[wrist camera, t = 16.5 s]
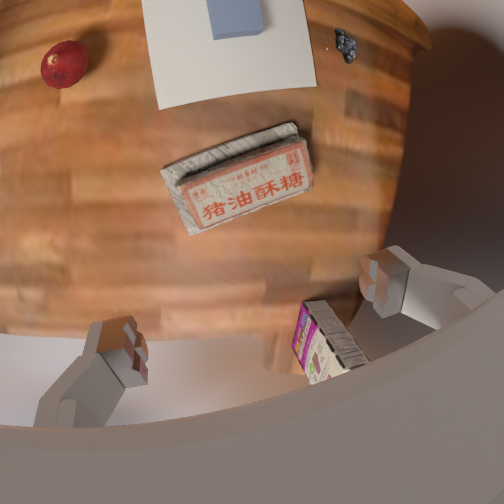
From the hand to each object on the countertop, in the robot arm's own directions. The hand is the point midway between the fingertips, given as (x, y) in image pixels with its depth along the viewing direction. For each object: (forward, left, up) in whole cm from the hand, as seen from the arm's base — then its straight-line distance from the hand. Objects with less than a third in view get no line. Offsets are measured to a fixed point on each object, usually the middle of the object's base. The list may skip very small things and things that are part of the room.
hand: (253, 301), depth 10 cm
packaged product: (+5, -4, -30) cm, 30 cm away
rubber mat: (+6, +16, -29) cm, 34 cm away
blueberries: (+22, +13, -30) cm, 39 cm away
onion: (-13, +16, -29) cm, 36 cm away
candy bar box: (+13, -33, -29) cm, 46 cm away
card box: (+7, +15, -27) cm, 32 cm away
